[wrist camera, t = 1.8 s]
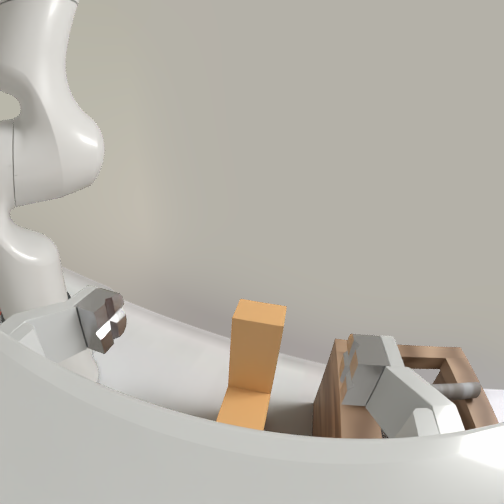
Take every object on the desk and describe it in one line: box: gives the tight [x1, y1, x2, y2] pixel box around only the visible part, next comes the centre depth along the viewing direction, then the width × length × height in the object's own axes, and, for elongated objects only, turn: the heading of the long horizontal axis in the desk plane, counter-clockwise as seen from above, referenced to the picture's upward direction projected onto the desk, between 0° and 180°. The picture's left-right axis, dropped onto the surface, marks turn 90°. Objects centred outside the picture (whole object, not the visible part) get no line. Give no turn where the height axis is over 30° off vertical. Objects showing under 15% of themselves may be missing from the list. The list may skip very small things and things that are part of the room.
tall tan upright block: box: [216, 299, 286, 430], centre depth 27 cm, size 4×12×22 cm, turn 170°
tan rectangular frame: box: [312, 339, 498, 439], centre depth 26 cm, size 20×20×15 cm
